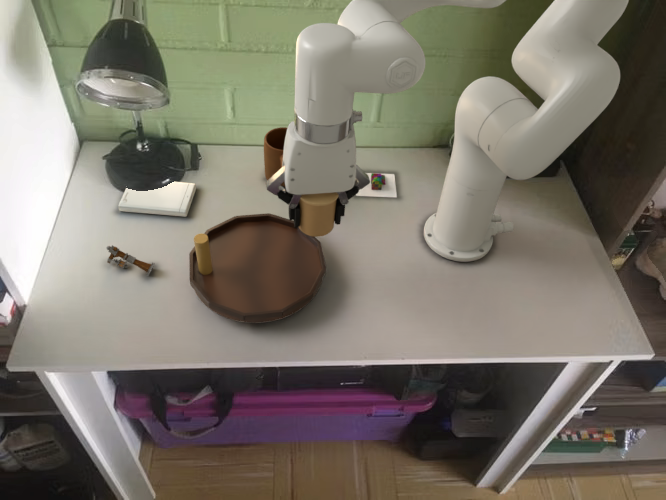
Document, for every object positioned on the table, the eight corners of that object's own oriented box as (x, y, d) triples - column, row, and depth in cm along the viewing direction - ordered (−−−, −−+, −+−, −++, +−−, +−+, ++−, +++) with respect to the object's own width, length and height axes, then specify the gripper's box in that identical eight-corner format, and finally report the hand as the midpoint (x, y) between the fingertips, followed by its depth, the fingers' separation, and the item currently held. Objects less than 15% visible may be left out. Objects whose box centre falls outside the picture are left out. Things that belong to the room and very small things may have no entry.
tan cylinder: (332, 208, 95) (335, 174, 90) (339, 236, 91) (342, 202, 86) (293, 211, 94) (294, 177, 89) (298, 239, 90) (300, 205, 85)
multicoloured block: (396, 197, 117) (398, 187, 115) (356, 195, 116) (357, 186, 114) (394, 174, 121) (395, 164, 120) (355, 172, 121) (356, 162, 119)
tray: (313, 218, 109) (315, 183, 103) (333, 315, 94) (336, 280, 88) (190, 228, 105) (184, 192, 99) (191, 329, 91) (184, 295, 85)
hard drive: (117, 205, 109) (185, 211, 108) (131, 176, 114) (195, 181, 114) (119, 212, 110) (186, 217, 110) (132, 183, 115) (196, 188, 115)
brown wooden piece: (105, 254, 101) (110, 240, 98) (149, 275, 103) (155, 262, 100) (100, 262, 100) (105, 248, 97) (144, 283, 102) (150, 270, 98)
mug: (305, 204, 114) (307, 166, 107) (265, 205, 113) (264, 166, 106) (301, 164, 122) (302, 126, 115) (264, 165, 121) (262, 126, 114)
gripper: (379, 102, 82) (365, 199, 96) (254, 107, 80) (257, 207, 93) (392, 135, 78) (375, 232, 91) (259, 141, 75) (262, 241, 88)
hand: (316, 218), depth 92 cm, fingers closed on tan cylinder, 5 cm apart
